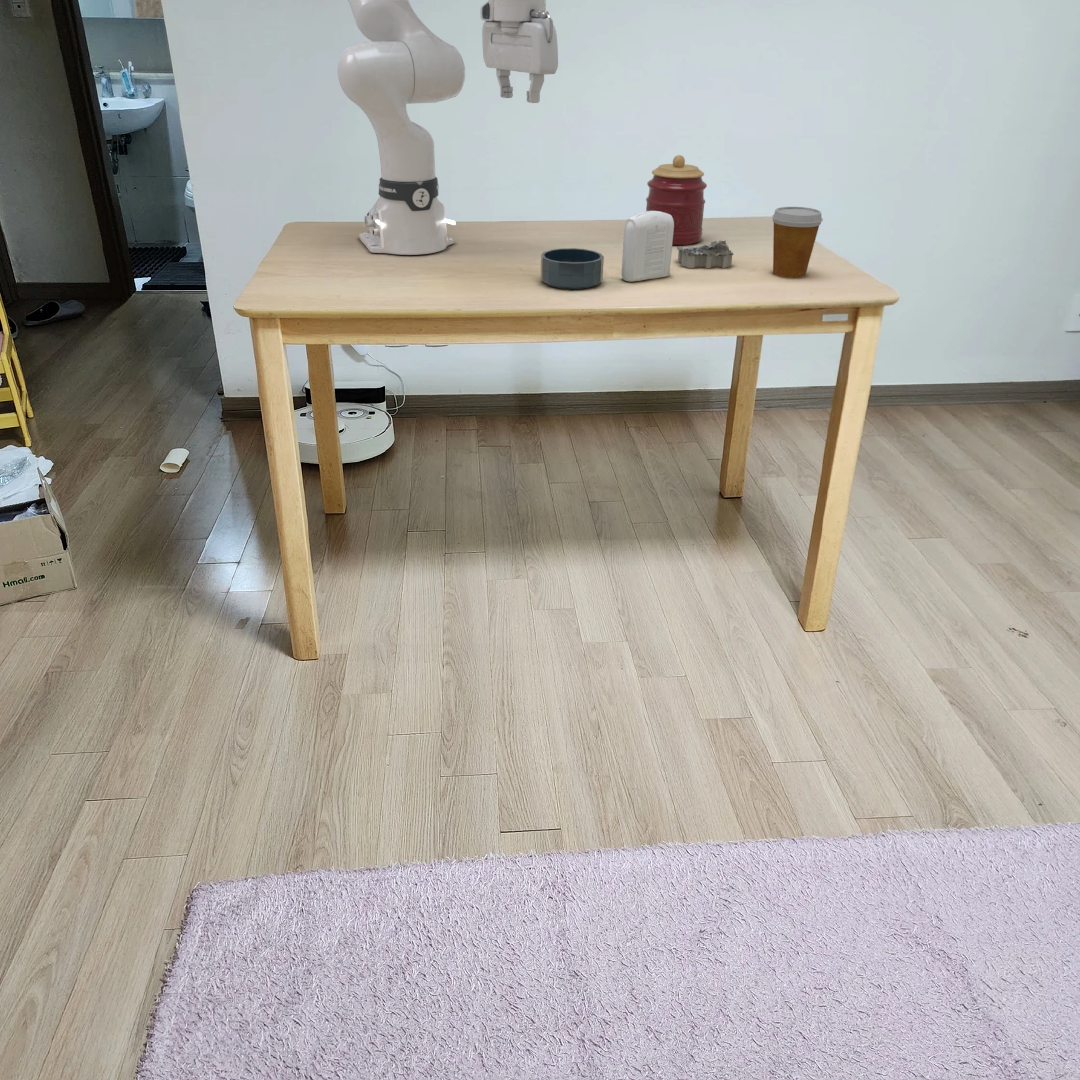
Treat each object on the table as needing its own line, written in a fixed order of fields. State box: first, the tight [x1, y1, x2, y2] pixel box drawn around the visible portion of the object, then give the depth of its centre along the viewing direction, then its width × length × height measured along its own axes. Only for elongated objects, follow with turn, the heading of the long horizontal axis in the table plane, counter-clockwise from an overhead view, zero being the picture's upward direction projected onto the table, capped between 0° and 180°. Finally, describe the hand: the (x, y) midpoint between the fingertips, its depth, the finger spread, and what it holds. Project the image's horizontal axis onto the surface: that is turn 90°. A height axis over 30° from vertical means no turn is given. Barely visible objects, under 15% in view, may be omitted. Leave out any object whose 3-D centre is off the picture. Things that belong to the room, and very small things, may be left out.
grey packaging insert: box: [676, 240, 735, 269], centre depth 190 cm, size 11×8×4 cm
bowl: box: [540, 247, 605, 290], centre depth 176 cm, size 12×12×5 cm
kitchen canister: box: [645, 154, 708, 246], centre depth 206 cm, size 13×13×18 cm
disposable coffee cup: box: [771, 206, 824, 279], centre depth 182 cm, size 10×10×12 cm
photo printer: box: [621, 210, 674, 283], centre depth 178 cm, size 10×4×12 cm, turn 123°
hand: (519, 100), depth 164 cm, fingers open, 8 cm apart
